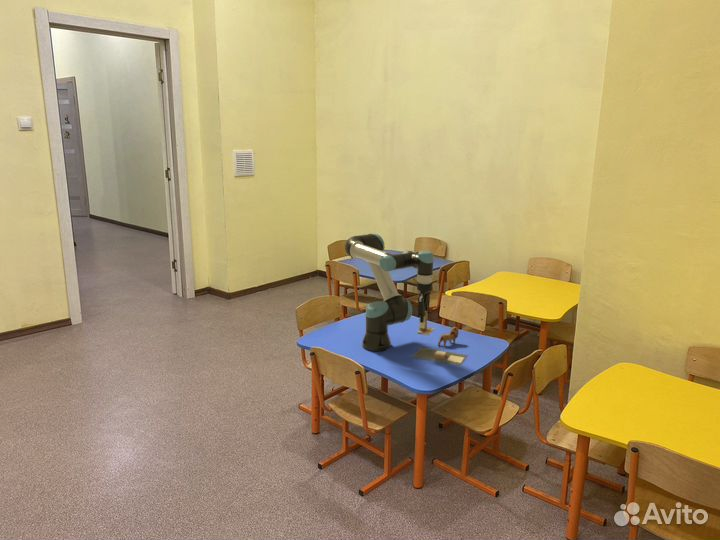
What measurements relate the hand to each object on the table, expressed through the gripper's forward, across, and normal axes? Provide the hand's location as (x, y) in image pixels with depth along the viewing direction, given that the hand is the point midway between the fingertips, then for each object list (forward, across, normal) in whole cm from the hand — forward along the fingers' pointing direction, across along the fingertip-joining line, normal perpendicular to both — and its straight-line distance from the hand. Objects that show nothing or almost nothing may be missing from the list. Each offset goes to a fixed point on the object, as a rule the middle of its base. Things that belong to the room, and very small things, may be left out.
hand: (423, 326), depth 271 cm
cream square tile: (+14, 0, -10) cm, 17 cm away
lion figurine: (+15, +18, -9) cm, 25 cm away
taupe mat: (+15, 0, -10) cm, 18 cm away
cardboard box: (+2, 0, -2) cm, 3 cm away
